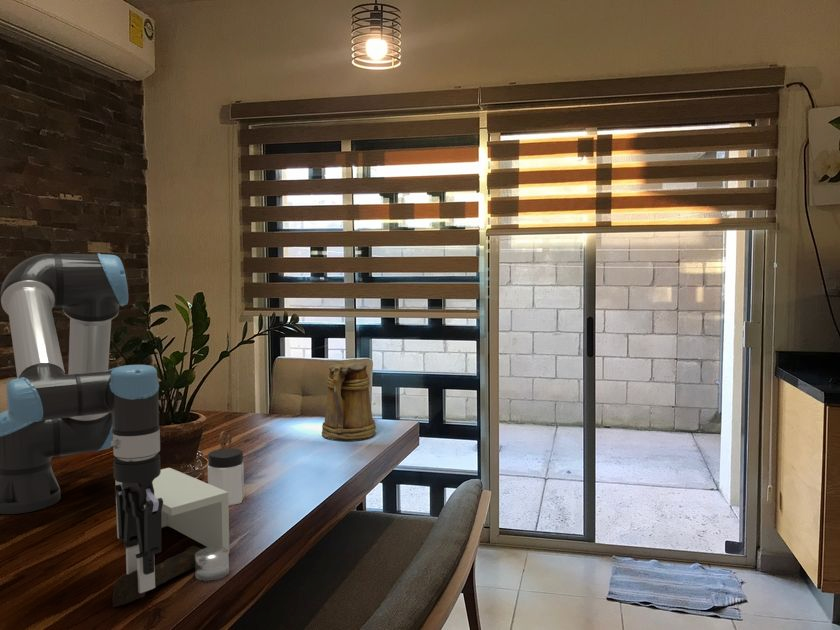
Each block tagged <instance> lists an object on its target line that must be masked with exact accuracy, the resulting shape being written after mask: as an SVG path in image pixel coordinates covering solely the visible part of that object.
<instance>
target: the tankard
mask: <svg viewBox="0 0 840 630" xmlns="http://www.w3.org/2000/svg"><path fill="white" fill-rule="evenodd" d="M367 367H368V365H367V363H366V362H365V361H362V360H358V359H356V358H353V359H343V360H339V361H336V362H334V363H331V364H330V365H329V366H328V370H329V375H328V376H327V380H326V386H327V397H326V406H325V413H324V414H325V415H324V422H322V426H321V427H322V431H321V436H322V437H324V438H326V439H327V440H331V439H333V440H332V441H336V440H338V441H339V440H342V441H341V442H352V441H351V440H357V441H362V439H363V440H365V439H366V440H367V439H369V438H371V437H374V436H375V434H376V429H377V426H376V422H375V421H374V419H373V413H372V405H371V404H372V403H371V398H370V397H371V396H370V388H369V387H370V386H371V383H370V376H369V374H368V372H367Z"/></svg>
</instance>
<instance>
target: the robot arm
mask: <svg viewBox="0 0 840 630" xmlns="http://www.w3.org/2000/svg"><path fill="white" fill-rule="evenodd" d="M127 280H128V279H127V276H126V271H125V268H124V264H123V262H122V260H121V258H120V257H119V256H117V255H115V254H103V253H102V254H101V253H92V254H91V253H64V254H63V253H43V254H42V253H41V254H36V255H34V256H31V257H29V258H27V259H25V260H23V261H22V262H20V263H18V264H17V265H16V266H15V267H14V268H13V269H11V270H10V271H9V273H8V274H7V276H6V277H5V278H4V281H3V282H2V285H1V290H0V303H1V307H2V309H3V311H4V312H5V313H6V314H7V315H8V320H9V326H10V332H11V333H10V334H11V340H12V348H13V349H12V350H13V357H14V363H15V370H16V378H14V379H10V380H9V381H8V382H6V406H7V410H4V411H2V412H1V413H0V515H17V514H24V513H31V512H35V511H39V510H43V509H46V508H49V507H51V506H53V505H55V504H57V503H58V502H60V500H61V499H62V496H61V487H60V485H59V483H58V481H57V478H56V475H55V473H54V471H53V468H52V458H56V457H62V456H63V457H64V456H71V455H77V454H84V453H85V454H87V453H96V452H99V451H103V450H108V449H110V448H112V451H113V453H112V455H113V456H114V457H115V458H114V459H113V461H112V466H113V479H114V480H116V481H118V482H120V483H122V484H119V485H116V484H115V486H114V492H115V499H116V498H117V513H118V530H119V539H118V540H119V541H123V546H124V547H125V565H126V567H125V569H126V575H127V574H130V573H132V572H134V571H136V570H137V571H138V592H139V593H143V592H146V591H147V592H149V591H151V590H153V589H155V588H156V587H155V566H156V565H155V555H156V554H160V553H161V552H162V528H161V511H162V506H163V499H162V498H158V499H156V498H155V496H154V488H153V483H152V482H153V480H154V479H155V478H157V477H158V476H159V475H160V473H161V455H160V454H159V452H160V451H161V434H160V433H161V432H160V431H161V430H160V412H159V409H160V408H159V406H160V405H159V390H160V389H159V388H160V383H159V379H158V371H157V368H156V367H155V366H153V365H149V364H148V365H147V364H128V365H121V366H117V367H112V368H111V369H109V363H110V348H111V347H110V345H111V330H112V320H114V319H115V318H116V317H118V315H119V312H120V306H121V307H124V306H126V305H128V303H129V288H128V281H127ZM53 308H62V312H63V314H64V315H65V316H66V317H68V318H69V340H68V341H69V343H68V344H69V345H68V347H69V349H68V374H66V372H65V368H64V362H63V357H62V353H61V348H60V343H59V338H58V334H57V329H56V325H55V319H54V315H53V311H52V310H53ZM144 509H145V510H144ZM117 513H116V514H117ZM148 590H149V591H148ZM147 592H146V593H147Z"/></svg>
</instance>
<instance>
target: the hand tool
mask: <svg viewBox="0 0 840 630" xmlns="http://www.w3.org/2000/svg"><path fill="white" fill-rule="evenodd" d="M201 549H202V548H200V547H199V546H196V545H192V546H189V547H187V549H186V550H185V551H183V552H181V553H178V554H176V555H174V556H171V557H169V558H166V559H165V560H164V561H162V562H160V563H158V564H156V565H155V588H156V587H158V586H160V585H163V584H165V583H166V582H167V581H169V580H171V579H173V578H176V577H177V576H180V575H182V574H183V573H186V572H188V571H190V570H192V569H193V568H195V554H196V552H198V551H199V550H201ZM149 591H150V590H148V591H146V592H143V593H139V592H138V571H137V570H136V571H134V572H132V573H130V574H127V573H126V574H124V575H123V576H122V577H120V578H119V579H118V580H117V582H116V584H115V587H114V589H113V593H112V607H113V608H115V607H116V608H117V607H120V606H124V605H126V604H129V603H131V602H134V601H136V600H138V599H143V598H144V597H145V596H146V593H147V592H149Z"/></svg>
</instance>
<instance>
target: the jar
mask: <svg viewBox="0 0 840 630" xmlns="http://www.w3.org/2000/svg"><path fill="white" fill-rule="evenodd" d="M225 448H226V447H225ZM243 453H244V452H243V450H241V449H240V448H234V447H233V448H230V447H229V448H226V449H222V448H220V449H218V450H217V449H214V450H212V451H210V452H209V453H208V454H207V460H208V466H207V484H210V485H212V486H215V487H217V488H219V489H222V490H224V491H227V492H228V507H230V506H234V505H239V504H241V503H242V502H243V500H244V497H245V476H244V475H245V473H244V472H245V471H244V470H245V469H244V467H245V466H244V454H243Z"/></svg>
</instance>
